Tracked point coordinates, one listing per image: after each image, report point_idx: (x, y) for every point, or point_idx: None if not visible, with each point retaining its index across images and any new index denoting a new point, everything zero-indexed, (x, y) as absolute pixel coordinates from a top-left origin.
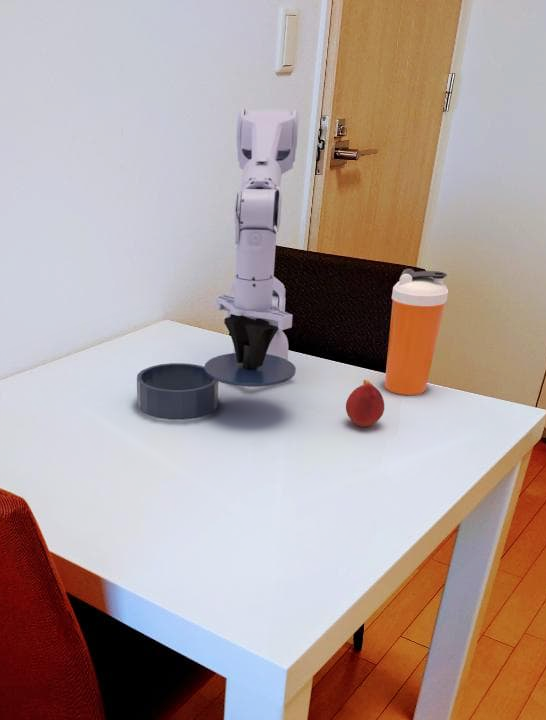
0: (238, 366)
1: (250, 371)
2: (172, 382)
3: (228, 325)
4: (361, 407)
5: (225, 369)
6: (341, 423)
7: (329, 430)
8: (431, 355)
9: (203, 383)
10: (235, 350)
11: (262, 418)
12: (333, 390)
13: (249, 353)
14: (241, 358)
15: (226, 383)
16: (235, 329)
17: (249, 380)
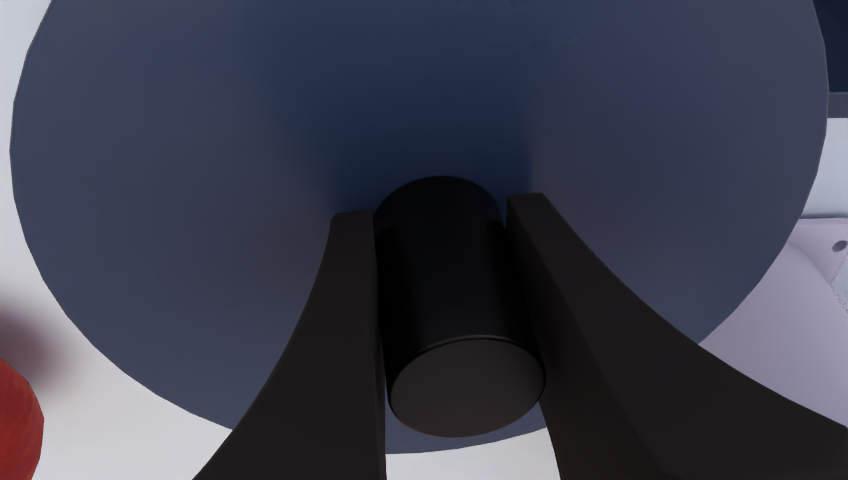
0: (515, 170)
1: (350, 178)
2: None
3: (755, 424)
4: None
5: (540, 37)
6: (68, 320)
7: (10, 241)
8: None
9: (846, 35)
10: (581, 250)
11: None
12: (394, 457)
13: (410, 295)
14: (513, 234)
15: None
16: (626, 425)
17: (143, 36)
